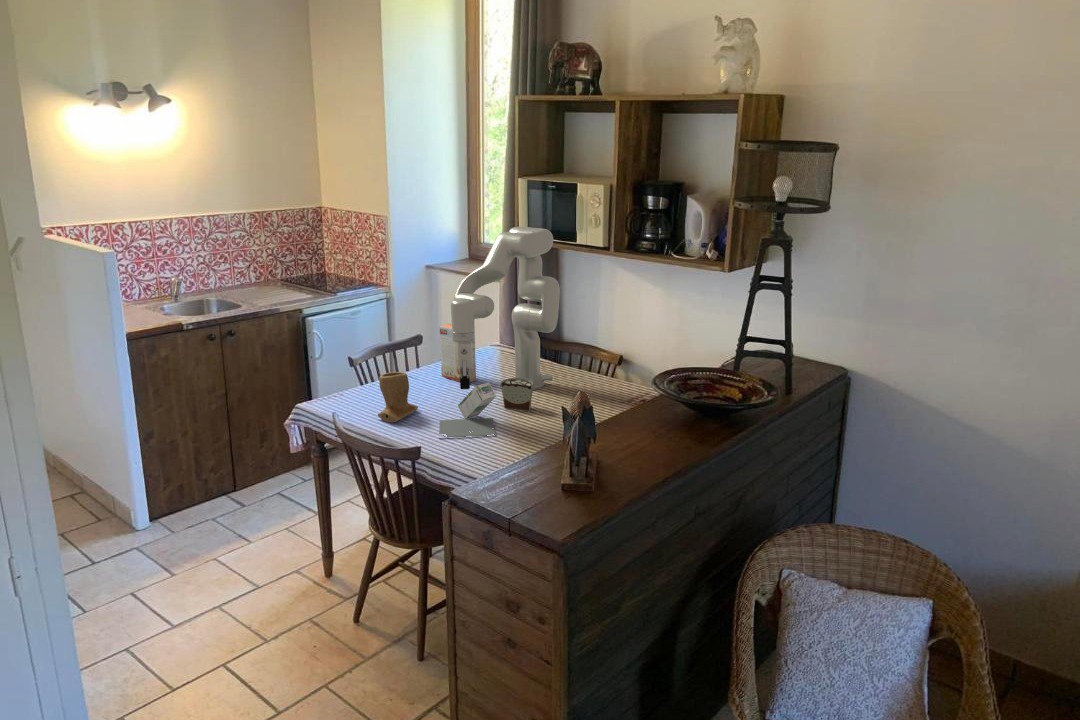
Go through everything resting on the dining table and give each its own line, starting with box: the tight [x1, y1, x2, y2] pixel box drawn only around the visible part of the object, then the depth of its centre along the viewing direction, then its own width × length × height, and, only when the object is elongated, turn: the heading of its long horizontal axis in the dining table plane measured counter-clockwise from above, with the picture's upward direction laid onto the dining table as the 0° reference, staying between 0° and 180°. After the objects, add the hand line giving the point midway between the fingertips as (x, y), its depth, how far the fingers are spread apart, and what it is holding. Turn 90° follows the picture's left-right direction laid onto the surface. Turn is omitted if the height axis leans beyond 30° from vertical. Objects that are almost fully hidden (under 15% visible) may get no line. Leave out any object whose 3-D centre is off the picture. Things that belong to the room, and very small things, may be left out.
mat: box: [438, 417, 497, 437], centre depth 260 cm, size 18×15×1 cm
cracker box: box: [439, 323, 477, 383], centre depth 306 cm, size 14×6×21 cm, turn 49°
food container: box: [499, 377, 534, 412], centre depth 277 cm, size 12×6×10 cm, turn 71°
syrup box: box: [457, 382, 497, 419], centre depth 265 cm, size 6×6×14 cm
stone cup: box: [377, 371, 419, 423], centre depth 269 cm, size 15×12×15 cm
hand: (465, 388), depth 267 cm, fingers closed
